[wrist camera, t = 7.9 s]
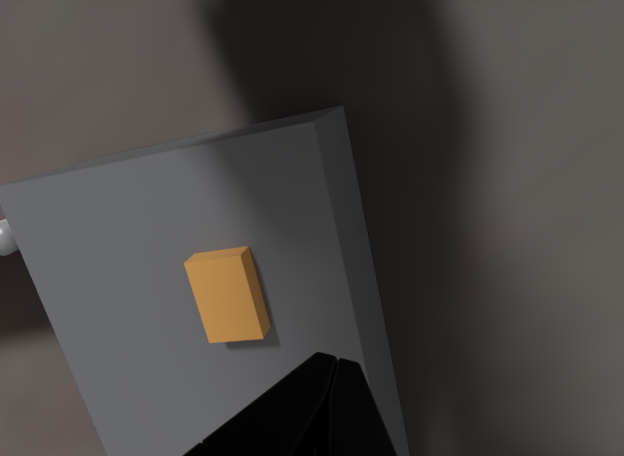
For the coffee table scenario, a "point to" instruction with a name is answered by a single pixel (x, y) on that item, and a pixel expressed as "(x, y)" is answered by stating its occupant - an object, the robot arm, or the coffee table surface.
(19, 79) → the coffee table surface
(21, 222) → the grey slab
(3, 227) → the side door
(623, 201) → the coffee table surface
